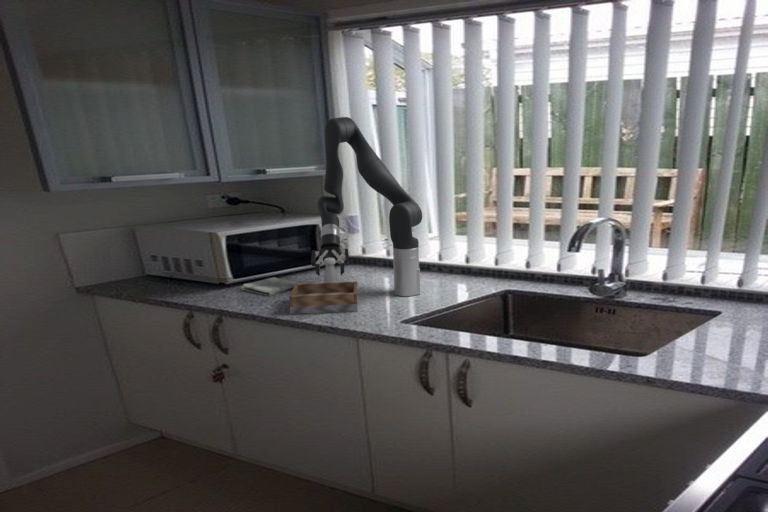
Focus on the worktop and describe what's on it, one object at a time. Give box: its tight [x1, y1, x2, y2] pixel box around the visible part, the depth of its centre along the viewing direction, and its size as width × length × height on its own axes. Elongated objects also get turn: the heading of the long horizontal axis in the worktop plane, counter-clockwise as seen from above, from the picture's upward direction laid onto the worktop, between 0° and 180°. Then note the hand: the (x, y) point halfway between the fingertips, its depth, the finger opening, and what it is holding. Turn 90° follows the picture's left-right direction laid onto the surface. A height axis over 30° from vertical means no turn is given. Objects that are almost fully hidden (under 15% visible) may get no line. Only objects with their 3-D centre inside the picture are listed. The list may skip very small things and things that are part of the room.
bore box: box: [288, 281, 359, 315], centre depth 179 cm, size 22×16×6 cm
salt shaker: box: [322, 258, 339, 283], centre depth 195 cm, size 6×6×13 cm
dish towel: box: [240, 276, 303, 297], centre depth 205 cm, size 19×18×3 cm
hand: (330, 274), depth 194 cm, fingers open, 8 cm apart
